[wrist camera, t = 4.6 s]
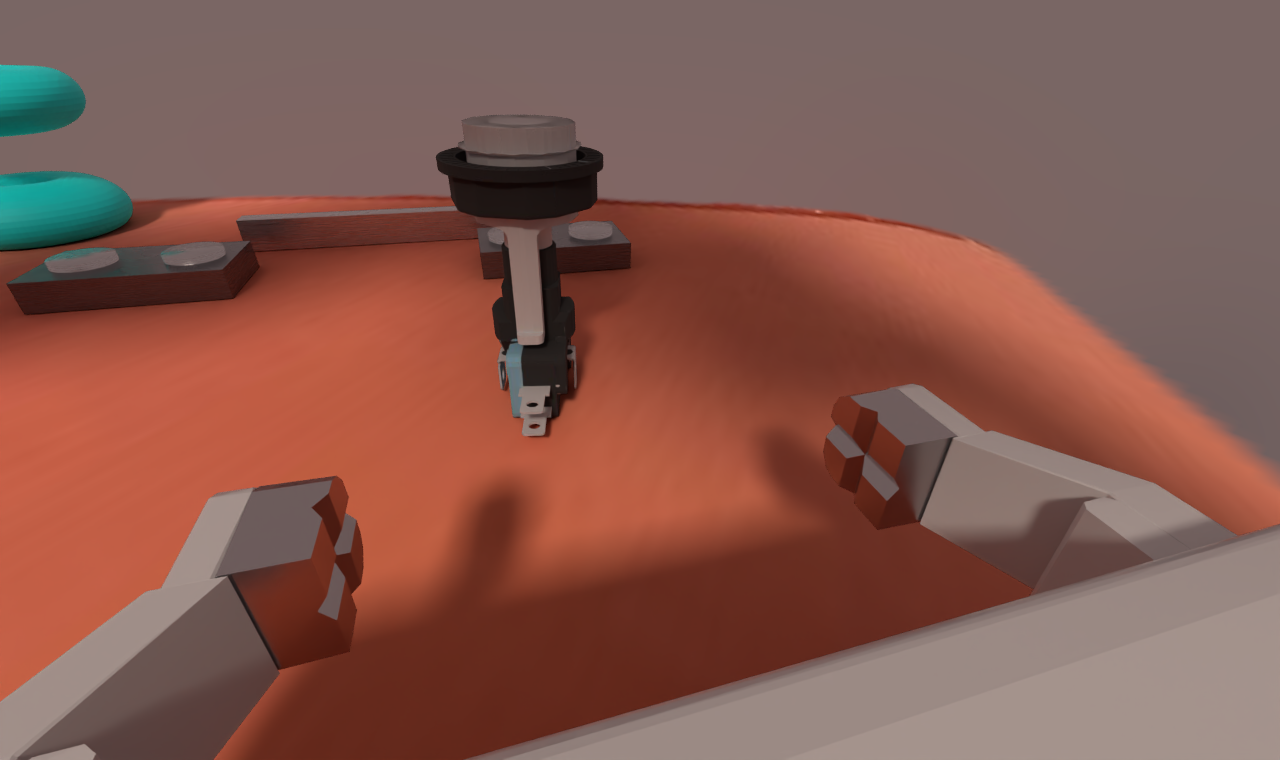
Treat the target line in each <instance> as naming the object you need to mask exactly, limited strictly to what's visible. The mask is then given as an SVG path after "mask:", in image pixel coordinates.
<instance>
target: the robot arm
mask: <svg viewBox="0 0 1280 760" xmlns="http://www.w3.org/2000/svg"><path fill="white" fill-rule="evenodd" d="M831 418H832V419H833V421H834V423H835V424H836V426H835V427H834V428H833V429H832V430H831V432H830V433H829V434H828V435H827V436H826V440H825V445H824V450H823V453H824V459H825V464H826V468H827V470H828V472H829V474H830V476H831V477H832V478H833V480H834V481H835V482H836V483H837V484H838V486H840V487H842V488H844V489H846V490H848V491H850V492H852V493H854V504H855V505H856V506H857V507H858V509H859V510H860V511H861V512H862V513H863V514H864V515H865V516H866V518H867V519H868V520H869V521H870V522H871V523H872V524H873V526H874V527H875V528H876V529H877V530H880V529H885V528H890V527H895V526H900V525H905V524H910V523H915V522H920V521H921V522H920V524H921V525H922V526H924V527H926V528H928V529H929V530H931V531H933V532H935V533H936V534H938V535H940V536H942V537H943V538H945V539H947V540H949V541H950V542H952V543H954V544H956V545H957V546H959V547H961V548H963V549H964V550H966V551H968V552H969V553H971V554H973V555H975V556H976V557H978V558H980V559H982V560H983V561H985V562H987V563H989V564H990V565H992V566H994V567H996V568H997V569H999V570H1001V571H1003V572H1004V573H1006V574H1008V575H1010V576H1011V577H1013V578H1015V579H1017V580H1018V581H1020V582H1022V583H1023V584H1025V585H1027V586H1029V587H1030V588H1032V589H1033V591H1032V593H1031V595H1030V596H1029V597H1025V598H1022V599H1018V600H1015V601H1011V602H1008V603H1005V604H1001V605H998V606H994V607H991V608H987V609H984V610H980V611H977V612H973V613H970V614H967V615H963V616H960V617H956V618H953V619H949V620H946V621H942V622H939V623H935V624H932V625H928V626H925V627H922V628H918V629H915V630H911V631H908V632H904V633H901V634H897V635H894V636H890V637H887V638H884V639H880V640H877V641H873V642H870V643H866V644H863V645H859V646H856V647H852V648H849V649H846V650H842V651H839V652H835V653H832V654H828V655H825V656H821V657H818V658H814V659H811V660H808V661H804V662H801V663H797V664H794V665H790V666H787V667H783V668H780V669H776V670H773V671H770V672H766V673H763V674H759V675H756V676H752V677H749V678H745V679H742V680H738V681H735V682H732V683H728V684H725V685H721V686H718V687H714V688H711V689H707V690H704V691H700V692H697V693H693V694H690V695H686V696H683V697H680V698H676V699H673V700H669V701H666V702H662V703H659V704H655V705H652V706H648V707H645V708H641V709H638V710H634V711H631V712H627V713H624V714H620V715H617V716H614V717H610V718H607V719H603V720H600V721H596V722H593V723H589V724H586V725H582V726H579V727H575V728H572V729H568V730H565V731H561V732H558V733H554V734H551V735H548V736H544V737H541V738H537V739H534V740H530V741H527V742H523V743H520V744H516V745H513V746H509V747H506V748H502V749H499V750H495V751H492V752H488V753H485V754H482V755H478V756H475V757H471V758H468V759H464V760H1280V524H1278V525H1274V526H1271V527H1267V528H1264V529H1260V530H1257V531H1253V532H1250V533H1247V534H1243V535H1240V536H1237V535H1236V534H1234V533H1233V532H1231V531H1229V530H1228V529H1226V528H1225V527H1223V526H1222V525H1220V524H1218V523H1217V522H1215V521H1214V520H1212V519H1210V518H1209V517H1207V516H1206V515H1204V514H1203V513H1201V512H1199V511H1198V510H1196V509H1195V508H1193V507H1191V506H1190V505H1188V504H1187V503H1185V502H1183V501H1182V500H1180V499H1179V498H1177V497H1176V496H1174V495H1172V494H1171V493H1169V492H1168V491H1166V490H1164V489H1163V488H1161V487H1160V486H1158V485H1157V484H1155V483H1152V482H1149V481H1146V480H1143V479H1140V478H1137V477H1134V476H1131V475H1128V474H1125V473H1121V472H1118V471H1115V470H1112V469H1109V468H1106V467H1103V466H1100V465H1097V464H1094V463H1091V462H1088V461H1085V460H1081V459H1078V458H1075V457H1072V456H1069V455H1066V454H1063V453H1060V452H1057V451H1054V450H1051V449H1048V448H1044V447H1041V446H1038V445H1035V444H1032V443H1029V442H1026V441H1023V440H1020V439H1017V438H1014V437H1011V436H1008V435H1004V434H1001V433H998V432H995V431H987V432H985V431H983V430H982V429H981V428H979V427H978V426H977V425H975V424H974V423H972V422H971V421H970V420H968V419H967V418H966V417H964V416H963V415H961V414H960V413H959V412H957V411H956V410H954V409H953V408H952V407H950V406H949V405H948V404H946V403H945V402H943V401H942V400H941V399H939V398H938V397H937V396H935V395H934V394H932V393H931V392H930V391H928V390H927V389H926V388H924V387H923V386H920V385H916V384H908V385H903V386H897V387H892V388H888V389H886V390H880V391H874V392H867V393H861V394H855V395H849V396H843V397H839V399H838V400H837V401H836V403H835V404H834V407H833V410H832V414H831ZM348 498H349V496H348V494H347V491H346V489H345V486H344V483H343V481H342V479H340V478H339V477H338V476H332V477H325V478H317V479H310V480H303V481H296V482H288V483H281V484H274V485H266V486H259V487H258V488H247V489H240V490H234V491H227V492H220V493H217V494H215V495H214V496H212V497H210V498H209V499H208V501H207V502H206V504H205V506H204V508H203V510H202V512H201V513H200V515H199V517H198V519H197V521H196V523H195V525H194V527H193V528H192V530H191V532H190V534H189V536H188V538H187V540H186V542H185V543H184V545H183V547H182V549H181V551H180V553H179V555H178V557H177V559H176V560H175V562H174V564H173V566H172V568H171V570H170V572H169V574H168V575H167V577H166V579H165V581H164V583H163V585H162V587H161V589H156V590H151V591H146V592H145V593H143V594H142V595H141V596H140V597H138V598H137V599H136V600H134V601H133V602H132V603H130V604H129V605H128V606H126V607H125V608H124V609H122V610H121V611H120V612H118V613H117V614H116V615H114V616H113V617H112V618H110V619H109V620H108V621H106V622H105V623H104V624H103V625H101V626H100V627H99V628H97V629H96V630H95V631H93V632H92V633H91V634H89V635H88V636H87V637H85V638H84V639H83V640H81V641H80V642H79V643H77V644H76V645H75V646H73V647H72V648H71V649H69V650H68V651H67V652H66V653H64V654H63V655H62V656H60V657H59V658H58V659H56V660H55V661H54V662H52V663H51V664H50V665H48V666H47V667H46V668H44V669H43V670H42V671H40V672H39V673H38V674H36V675H35V676H34V677H33V678H31V679H30V680H29V681H27V682H26V683H25V684H23V685H22V686H21V687H19V688H18V689H17V690H15V691H14V692H13V693H11V694H10V695H9V696H7V697H6V698H5V699H3V700H2V701H1V702H0V760H214V758H215V757H216V756H217V754H218V753H219V752H220V751H221V749H222V748H223V747H224V745H225V744H226V743H227V741H228V740H229V739H230V738H231V736H232V735H233V734H234V732H235V731H236V730H237V728H238V727H239V726H240V725H241V723H242V722H243V721H244V719H245V718H246V717H247V716H248V714H249V713H250V712H251V710H252V709H253V708H254V706H255V705H256V704H257V703H258V701H259V700H260V699H261V697H262V696H263V695H264V693H265V692H266V691H267V690H268V688H269V687H270V686H271V684H272V683H273V682H274V680H275V679H276V678H277V677H278V675H279V674H280V673H279V671H278V670H281V669H285V668H289V667H293V666H297V665H301V664H304V663H308V662H312V661H316V660H320V659H324V658H328V657H332V656H336V655H340V654H343V653H347V652H350V648H351V642H352V636H353V630H354V624H355V618H356V612H357V609H356V606H355V603H354V600H353V598H352V595H351V594H352V593H353V592H354V591H355V590H356V589H357V588H358V587H359V585H360V584H361V581H362V574H363V567H364V566H363V544H362V538H361V533H360V529H359V526H358V523H357V520H356V519H354V518H353V517H351V516H349V515H348V514H346V508H347V503H348Z"/></svg>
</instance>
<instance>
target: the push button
mask: <svg viewBox="0 0 1280 760" xmlns="http://www.w3.org/2000/svg"><path fill="white" fill-rule="evenodd" d="M462 127H463V134H464V141H462V142H459V143H458V147H456V148H451V149H448V150H445V151H442V152H440V153H438V154H437V156H436V160H437V167H438V170H439V171H440V172H441V173H443V174H446V175H448V178H449V184H450V190H451V198H452V200H453V202H454V204H455V206H456V208H457V210H458V211H460V212H462V213H466V214H469V215H473V216H475V219H476V221H477V222H478V223H481V224H485V225H488V226H492V227H495V228H498V229H501V230H502V231H503V232H504V242H503V244H502V245H501V248H502V258H503V267H504V276H505V278H504V280H503V283H502V286H501V287H502V296H503V297H500V298H499V299H498V300H497V301H496V302H495V303H494V304H493V307H492V311H493V319H494V328H495V334H496V337H497V338H498V339H499V340H500V343H501V345H502V347H501V350H500V354H499V357H498V361H497V363H498V364H499V365H498V371H499V379H500V387H501V390H504V387H505V383H506V370H507V375H508V379H509V388H510V396H511V405H512V414H513V417H521V418H524V423H523V429H522V435H523V436H542V435H544V434H545V429H546V420H547V417H552V416H558V415H559V403H560V394H567V392H568V371H567V368H571V360H572V361H573V363H574V364H573V367H574V388H575V389H576V388H577V368H576V347H575V346H574V345H571V336H572V335H573V333H574V332H575V308H574V302H573V300H572V299H571V298H570V297H561V285H560V272H559V271H557V254H556V243H555V242H554V241H553V240H552V228H551V227H553V226H557V225H561V224H565V223H570V222H571V221H572V220H573V219H574V218H575V217H577V216H578V212H579V211H583V210H586V209H589V208H591V207H592V206H593V205H594V203H595V202H596V201H597V172H599V171H600V170H602V168H603V154H602V153H600V152H599V151H597V150H594V149H591V148H587V147H582V146H581V143H580V142H578V141H576V132H575V122H574V121H573V120H571V119H568V118H562V117H555V116H542V115H541V116H540V115H489V116H480V117H471V118H467V119H464V120H462ZM505 361H506V370H505ZM502 372H503V375H502ZM532 424H539V425H540V427H539V428H536V429H531V428H529V426H530V425H532Z"/></svg>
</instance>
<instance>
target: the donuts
mask: <svg viewBox="0 0 1280 760" xmlns="http://www.w3.org/2000/svg"><path fill="white" fill-rule="evenodd" d="M85 104H86V100H85V95H84V93H83V91H82V89H81V88H80V86H79V85H78V84H77V83H76V82H75V81H74V80H73V79H72V78H71V77H69V76H68V75H66V74H65V73H63V72H61V71H58V70H56V69H52V68H48V67H41V66H22V65H0V137H4V136H16V135H26V134H34V133H41V132H46V131H51V130H55V129H59V128H62V127H65V126H67V125H69V124H71V123H72V122H74V121H75V120H76V119H78V118H79V116H81V114H82V113H83V111H84V108H85ZM132 212H133V205H132V202H131V199H130V198H129V196H128V195H127V193H126V192H125V191H123V190H122V189H121V188H120V187H118V186H117V185H116V184H114V183H112V182H110V181H108V180H106V179H103V178H100V177H97V176H93V175H89V174H84V173H77V172H65V171H40V172H24V173H13V174H4V175H0V250H17V249H28V248H38V247H46V246H53V245H60V244H65V243H70V242H76V241H80V240H84V239H88V238H92V237H96V236H99V235H102V234H105V233H108V232H111V231H113V230H115V229H117V228H119V227H121V226H122V225H124V224H125V223H126V222H127V221H128V220H129V219H130V217H131V216H132Z"/></svg>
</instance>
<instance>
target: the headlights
mask: <svg viewBox="0 0 1280 760" xmlns="http://www.w3.org/2000/svg"><path fill="white" fill-rule="evenodd" d="M236 222H237V225H238V228H239V230H240V233H241V236H242V239H243V241H238V242H219V243H218V242H195V243H187V244H182V245H165V246H147V247H128V248H86V249H78V250H72V251H64V252H62V253H60V254H56V255H53V256H51V257H49V258H47V259H46V260H45V261H44V262H45V263H43V264H41V265H39V266H37V267H36V268H34V269H32V270H30V271H28V272H27V273H25V274H23V275H21V276H19V277H18V278H16V279H14V280H12V281H10V282H9V283H7V286H8V288H9V289H10V291H11V293H12V294H13V296H14V298H15V299H16V301H17V303H18V304H19V306H20V308H21V309H22V311H23V313H24V314H37V313H50V312H63V311H76V310H89V309H102V308H115V307H128V306H141V305H154V304H167V303H180V302H192V301H205V300H218V299H231V298H234V297H235V295H236V294H237V293H238V292H239V291H240V289H241V288H242V287H243V286H244V285H245V283H246V282H247V281H248V280H249V279H250V277H251V276H252V275H253V274H254V273H255V271H256V270H257V269H258V268H259V264H258V261H257V259H256V256H255V253H254V251H268V250H285V249H302V248H319V247H336V246H353V245H370V244H387V243H403V242H420V241H437V240H454V239H471V238H478V239H479V247H480V255H481V262H482V269H483V276H484V279H491V278H504V277H505V276H504V267H503V258H502V248H501V245H502V244H503V242H504V232H503V231H502V230H501V229H498V228H495V227H492V226H488V225H485V224H481V223H478V222H477V221H476V219H475V216H473V215H469V214H466V213H462V212H460V211H458V210H457V208H456V206H449V207H427V208H404V209H382V210H359V211H337V212H315V213H292V214H270V215H248V216H241V217H240V218H239V219H238V220H236ZM551 228H552V240H553V241H554V242H555V243H556V254H557V271H559V272H560V273H568V272H581V271H594V270H607V269H620V268H630V258H631V243H630V241H629V240H628V239H627V238H626V237H625V236H624V235H623V233H622V232H621V231H620V230H619V229H618V228H617V227H616V225H615V224H614V223H613V222H612V221H602V222H599V221H581V222H576V223H566V224H561V225H557V226H553V227H551Z"/></svg>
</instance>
